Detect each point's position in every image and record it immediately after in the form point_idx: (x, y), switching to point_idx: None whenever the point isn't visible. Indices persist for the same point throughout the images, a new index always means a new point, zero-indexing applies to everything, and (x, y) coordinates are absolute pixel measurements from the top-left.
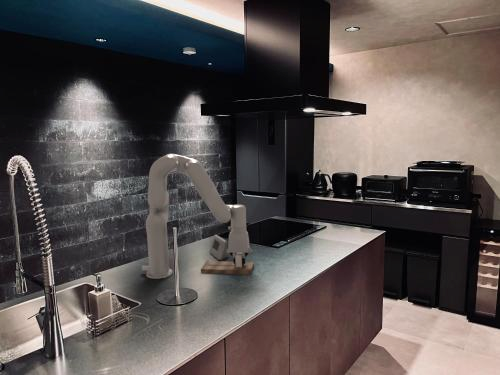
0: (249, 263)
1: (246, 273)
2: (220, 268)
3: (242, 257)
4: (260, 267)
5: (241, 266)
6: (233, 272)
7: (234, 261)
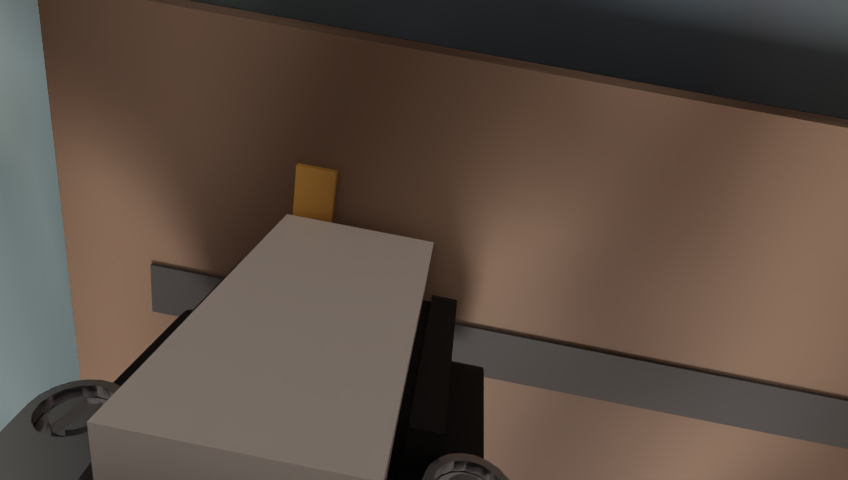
0: None
1: (189, 2)
2: (837, 221)
3: None
4: (11, 343)
5: (283, 221)
6: (496, 58)
7: (454, 391)
